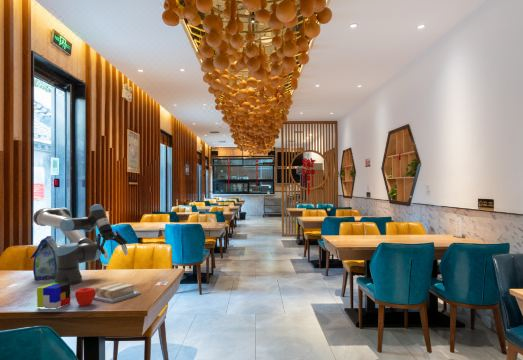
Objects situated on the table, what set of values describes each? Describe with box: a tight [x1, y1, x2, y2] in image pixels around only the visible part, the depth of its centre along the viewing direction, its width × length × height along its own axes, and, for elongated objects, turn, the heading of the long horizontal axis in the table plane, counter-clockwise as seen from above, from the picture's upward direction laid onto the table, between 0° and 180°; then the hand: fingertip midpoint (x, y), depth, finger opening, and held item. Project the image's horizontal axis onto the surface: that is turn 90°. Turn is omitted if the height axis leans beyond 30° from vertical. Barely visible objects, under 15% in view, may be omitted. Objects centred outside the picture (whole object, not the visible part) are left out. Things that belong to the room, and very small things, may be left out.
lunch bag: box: [30, 235, 59, 281], centre depth 250 cm, size 22×17×26 cm
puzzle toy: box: [36, 282, 71, 308], centre depth 183 cm, size 10×10×10 cm
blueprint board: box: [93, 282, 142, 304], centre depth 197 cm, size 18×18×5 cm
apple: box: [74, 287, 97, 307], centre depth 183 cm, size 9×9×8 cm
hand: (117, 256), depth 227 cm, fingers open, 13 cm apart
